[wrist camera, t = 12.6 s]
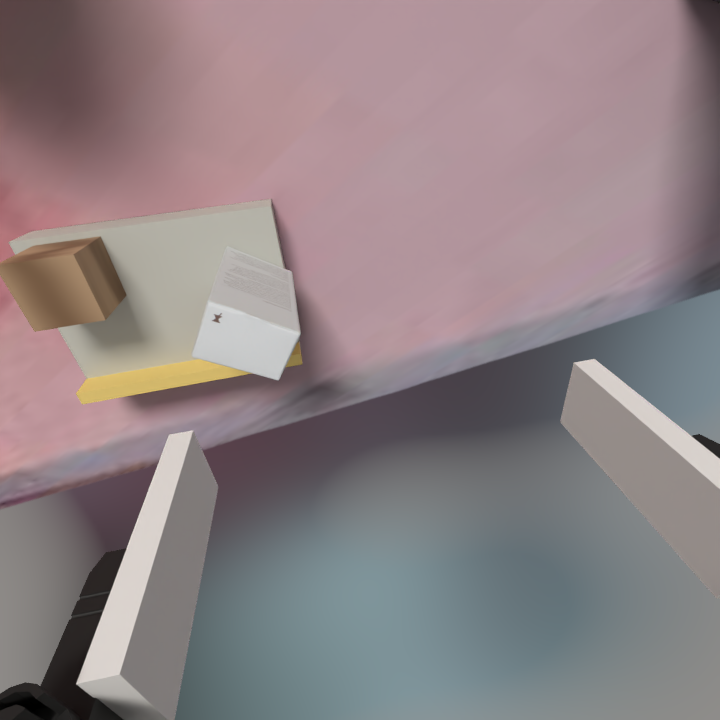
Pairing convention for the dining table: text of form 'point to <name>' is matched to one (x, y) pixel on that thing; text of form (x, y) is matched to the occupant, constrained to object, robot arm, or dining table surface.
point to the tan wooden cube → (64, 283)
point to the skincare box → (249, 317)
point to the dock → (161, 294)
